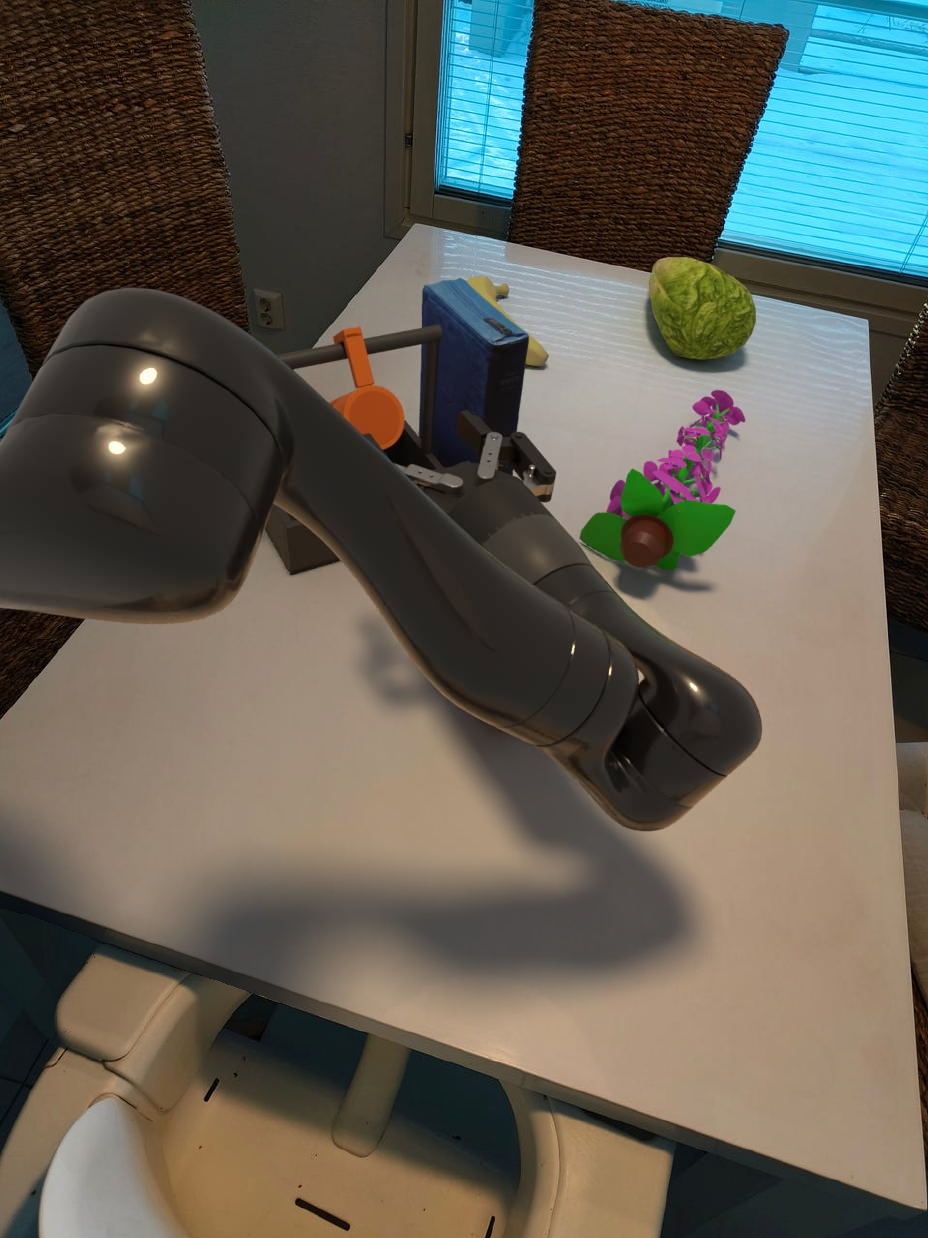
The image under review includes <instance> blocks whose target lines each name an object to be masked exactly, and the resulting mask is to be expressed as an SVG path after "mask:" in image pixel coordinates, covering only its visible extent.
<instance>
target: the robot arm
mask: <svg viewBox="0 0 928 1238" xmlns="http://www.w3.org/2000/svg"><path fill="white" fill-rule="evenodd" d="M276 355H277V354H275V353H274V352H273V351H272V350H271V349H269V347H267V346H266V345H265V344H263V343H262V342H260V341H259V340H257V339H256V338H255V337H254V336H252V335H251V334H250V333H249V332H247V331H246V330H244V329H243V328H241V327H240V326H239V325H237V324H235V323H234V322H232V321H230V320H229V319H228V318H226V317H224V316H223V315H221V314H220V313H217V312H215V311H213V310H211V309H210V308H208V307H206V306H203V304H200V303H198V302H196V301H194V300H193V299H189V298H186V297H183V296H180V295H177V294H173V293H170V292H167V291H164V290H159V289H154V288H145V287H122V288H117V289H116V288H115V289H109V290H106V291H103V292H100V293H99V294H97V295H95V296H92V297H91V298H88V299H86V300H85V301H84V302H83V303H82V304H81V305H80V306H79V307H78V308H77V309H76V310H75V311H74V312H73V313H72V314H71V315H70V316H69V318H68V319H67V321H66V323H65V324H64V325H63V327H62V329H61V330H60V332H59V334H58V336H57V337H56V339H55V340H54V343H53V344H52V346H51V348H50V350H49V352H48V353H47V355H46V357H45V358H44V361H43V363H42V364H41V367H40V368H39V370H38V372H37V373H36V376H35V377H34V379H33V381H32V383H31V384H30V386H29V388H28V390H27V392H26V394H25V396H24V398H23V399H22V401H21V403H20V405H19V407H18V409H17V410H16V412H15V414H14V415H13V418H12V420H11V422H10V424H9V425H8V427H7V429H6V430H5V434H4V436H3V437H2V439H1V441H0V608H1V609H9V610H17V611H24V612H30V613H40V614H46V615H54V616H60V617H61V616H62V617H69V618H76V619H82V620H83V619H84V620H92V621H93V620H94V621H103V622H112V623H121V624H133V625H134V624H136V625H137V624H138V625H173V624H174V625H175V624H184V623H189V622H194V621H199V620H204V619H206V618H209V617H212V616H214V615H216V614H218V613H220V612H222V611H224V610H225V609H226V608H228V607H229V605H230V604H231V603H232V602H233V601H234V600H235V599H236V597H237V596H238V595H239V593H240V591H241V590H242V588H243V586H244V584H245V582H246V580H247V579H248V576H249V573H250V571H251V568H252V566H253V563H254V562H255V561H254V560H255V558H256V556H257V553H258V550H259V548H260V546H261V542H262V538H263V535H264V533H265V527H266V524H267V521H268V518H269V515H270V512H271V509H272V506H273V504H275V505H277V506H278V507H280V508H282V509H283V510H285V511H286V512H288V513H289V514H291V515H292V516H294V517H295V518H296V519H297V520H299V521H300V522H301V523H303V524H304V525H305V526H307V527H308V528H309V529H310V530H311V531H312V532H313V533H315V534H316V535H317V536H318V537H319V538H320V539H321V540H322V541H323V542H324V543H325V544H326V545H327V546H328V547H329V548H330V549H331V550H332V551H333V552H334V553H335V554H336V556H337V557H338V558H339V559H340V562H341V563H342V564H343V565H344V566H345V568H346V569H347V570H348V571H349V572H350V574H352V576H353V577H354V578H355V579H356V581H357V582H358V585H360V586H361V588H362V589H363V590H364V592H365V594H366V595H367V596H368V597H369V599H370V600H371V602H372V603H373V604H374V606H375V608H376V609H377V611H378V612H379V614H380V615H381V617H382V618H383V620H384V621H385V623H386V625H387V626H388V627H389V629H390V631H391V632H392V633H393V635H394V637H395V638H396V639H397V641H398V643H399V644H400V645H401V647H402V648H403V649H404V651H405V653H406V654H407V656H408V657H409V659H410V660H411V661H412V662H413V664H415V666H416V668H417V669H418V670H419V671H420V672H421V673H422V674H423V676H424V677H425V678H426V679H427V680H428V681H429V683H430V684H431V685H432V686H433V687H434V688H435V689H436V690H437V691H438V692H439V693H440V694H441V695H442V696H444V697H445V698H446V699H447V700H449V701H450V702H451V703H453V704H454V705H455V706H456V707H458V708H460V709H462V710H463V711H465V712H466V713H468V714H469V715H471V716H473V717H475V718H477V719H479V720H480V721H482V722H484V723H486V724H488V725H490V726H492V727H494V728H496V729H497V730H500V731H502V732H504V733H507V734H509V735H510V736H512V737H514V738H516V739H519V740H520V741H522V742H524V743H526V744H529V745H531V746H533V747H534V748H536V749H538V750H540V751H542V753H544V754H546V755H547V756H548V757H549V758H551V760H553V761H554V762H555V763H556V764H558V765H559V766H560V767H561V768H562V769H563V770H564V771H566V772H567V773H568V774H569V775H570V776H571V777H572V778H573V779H574V780H575V781H576V782H578V784H579V785H580V786H581V787H582V788H583V790H585V791H586V792H587V794H588V795H589V796H590V797H591V799H592V800H593V801H594V802H595V803H596V804H597V805H598V806H599V807H600V808H601V810H602V811H603V812H604V813H605V814H606V815H607V816H609V817H610V818H611V819H612V820H613V821H614V822H616V823H617V824H619V825H620V826H621V827H623V828H626V829H628V830H632V831H637V832H656V831H661V830H664V829H667V828H669V827H671V826H672V825H674V824H676V823H677V822H678V821H680V820H682V818H683V817H684V816H686V815H687V814H688V813H689V812H690V811H691V810H692V809H693V808H694V807H695V806H696V805H698V803H700V801H702V800H703V799H704V798H705V797H707V795H709V793H711V792H712V791H713V790H715V788H716V787H717V786H719V785H720V783H722V782H724V780H725V779H727V778H728V776H729V775H731V774H732V773H733V772H734V771H735V770H737V769H738V768H739V767H740V766H741V765H742V764H743V763H744V762H746V761H747V760H748V759H749V758H750V757H751V756H752V755H753V754H754V752H755V751H756V750H757V748H758V747H759V745H760V743H761V740H762V734H763V723H762V717H761V713H760V709H759V708H758V705H757V703H756V700H755V699H754V697H753V696H752V694H751V693H750V691H749V690H748V689H747V688H746V687H745V685H743V684H742V682H741V681H739V680H738V679H736V677H733V676H732V675H731V674H730V673H728V672H726V671H725V670H723V669H722V668H721V667H720V666H717V665H716V664H714V663H712V662H710V661H709V660H707V659H706V658H704V657H702V656H700V655H698V654H696V653H695V652H693V651H691V650H689V649H688V648H685V647H684V646H682V645H681V644H678V643H677V642H675V641H674V640H672V639H671V638H669V637H668V636H666V635H665V634H663V633H662V632H661V631H659V630H658V629H657V628H654V627H653V626H652V625H651V624H650V623H649V622H647V621H646V620H645V619H643V618H642V617H641V615H639V614H638V613H636V612H635V610H634V609H632V607H631V606H629V604H628V603H626V602H625V600H624V599H623V597H621V596H620V595H619V594H618V592H617V591H616V590H615V589H614V588H613V586H611V585H610V584H609V582H608V581H607V580H606V579H605V578H604V576H602V574H601V573H599V571H598V570H597V569H596V568H595V566H594V565H593V564H592V562H591V561H590V559H589V558H588V556H587V554H586V552H585V551H584V550H583V548H582V547H581V546H580V545H579V543H578V542H577V540H576V539H575V538H574V537H573V536H572V535H571V534H570V533H569V532H568V530H567V529H566V528H565V527H564V526H563V525H562V524H561V523H560V522H559V520H558V519H557V518H556V517H555V516H554V515H553V514H552V512H551V511H549V509H548V508H547V507H546V506H545V505H544V503H549V502H551V501H552V497H553V493H554V487H555V482H556V477H557V470H556V469H555V468H554V467H553V465H552V464H551V463H550V462H549V461H548V460H547V459H546V458H545V456H544V455H543V454H542V453H541V452H540V450H539V449H538V448H537V446H536V445H535V444H534V443H533V441H532V440H531V439H529V437H528V436H527V434H525V433H524V432H522V431H517V432H513V433H512V434H511V437H502V435H501V434H499V433H497V432H493V431H492V430H491V429H490V428H489V427H488V426H487V425H486V424H485V423H484V422H483V420H482V419H481V418H480V417H478V416H476V415H472V414H471V413H470V412H469V411H468V410H466V411H462V412H459V413H458V421H457V432H458V435H459V436H460V437H461V439H462V440H463V441H464V442H465V443H466V444H467V445H468V447H469V448H470V449H471V450H472V451H473V452H474V454H475V455H476V456H477V457H478V458H481V461H480V464H478V463H471V462H470V461H465V462H461V463H459V464H457V465H455V466H453V467H445V468H439V469H435V470H432V471H431V470H428V469H425V468H423V467H420V466H417V465H414V464H410V465H409V466H408V467H403V466H400V465H398V464H395V463H393V462H392V461H391V460H390V459H389V458H388V456H387V455H386V454H385V452H384V451H383V450H382V448H381V447H380V446H379V444H378V443H377V442H376V440H375V439H374V438H373V436H372V435H371V434H370V433H367V434H363V435H362V434H361V433H360V432H359V431H358V430H357V429H356V428H355V427H354V426H353V425H352V424H351V423H350V422H349V421H348V420H346V419H345V418H344V417H343V416H342V415H341V414H340V413H339V412H338V411H337V410H336V409H335V408H334V407H333V406H332V405H330V404H329V401H327V400H326V399H325V398H324V397H323V396H322V395H321V394H320V392H318V391H317V390H316V389H314V387H313V386H311V385H310V384H309V383H308V381H306V380H305V379H304V378H303V377H302V376H301V375H299V373H297V371H295V369H291V368H290V367H289V366H288V365H287V364H286V363H285V362H283V361H282V360H281V359H280V358H279V357H277V356H276ZM499 461H507V462H508V463H509V465H510V466H511V467H512V468H513V472H514V473H515V474H516V475H517V476H518V477H517V476H515V475H514V474H513V475H510V474H507V473H504V472H502V471H499V470H497V469H498V465H499ZM417 483H419V484H422V485H424V487H423V491H422V490H421V489H420V488H419V487H418V486H417ZM639 672H640V673H641V675H642V677H643V678H642V679H641V680H640V676H639Z"/></svg>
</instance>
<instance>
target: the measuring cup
mask: <svg viewBox="0 0 928 1238" xmlns="http://www.w3.org/2000/svg"><path fill="white" fill-rule="evenodd" d="M332 339H333V344H338V343H343V342H344V345H345V349H346V353H347V357H348V359H347V361H348V364H349V365H348V366H349V369H350V372H351V376H352V380H353V384H354V388H355V390H353V391H350V392H348V393H345V394H344V395H342V396H339V397H337V398H335V399H333V400H331V401H328V403H329V404H330V405H332V406H333V407H334V408H335V409H336V410H337V411H338V412H339V413H340V414H341V415H342V416H343V417H344V418H345V419H346V420H348V421H349V422H350V423H351V424H352V425H353V426H354V427H355V428H356V429H357V430H358V431H359V432H360V433H361V434H362V435H363V434H367V433H370V434H371V435H372V436H373V438H374V439H375V440H376V442H377V443H378V444H379V446H380V447H381V448H382V450H383V449H387V448H389V447H390V446H392V445H393V444H394V443H395V442H396V441H397V440H398V439H399V437H400V436H401V434H402V431H403V428H404V421H405V420H406V419H405V412H404V409H403V406H402V404H401V402H400V400H399V399H398V397H397V396H396V395H395V394H394V393H393V392H392V391H391V390H389V389H387V388H386V387H384V386H381V385H377V384H376V385H375V379H374V376H373V371H372V367H371V363H370V359H369V355H367V351H366V347H365V343H364V339H365V338H364V335H363V331H362V328H361V325H359V326H354V327H348V328H344V329H343V328H342V330H340V331H339V332H337V333H336V334H334V335H333V336H332Z"/></svg>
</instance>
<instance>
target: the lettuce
mask: <svg viewBox="0 0 928 1238" xmlns="http://www.w3.org/2000/svg"><path fill="white" fill-rule="evenodd" d="M648 295H649V297H650V301H651V311H652V314H653V317H654V319H655V321H656V324H657V325H658V328H659V331H660V334H661V337H662V338H663V340H664V342H665V343H666V345H667V346H668V348H669V349H670V350H671V352H672V354H673V355H674V357H680V358H684V359H685V358H686V359H692V360H693V359H694V360H703V361H704V360H714V359H715V360H716V359H720V358H723V357H726V356H730V355H733V354H734V353H736V352H737V351H738V350H740V349H741V348H742V347H744V346H745V345H746V343H747V342H748V341H749V339H750V337H751V336H752V334H753V332H754V329H755V326H756V322H757V308H756V305H755V302H754V299H753V296H752V293H751V292H750V291H749V289H748V288H747V287H746V286H745V285H744V284H743V283H741V282H740V281H739V280H738V279H736V278H735V277H734V276H732V275H730V274H728V273H726V272H725V271H724V270H722V269H720V268H719V267H718V266H716V265H715V264H711V263H708V262H704V261H701V260H698V259H696V258H694V257H693V258H692V257H688V256H675V257H674V256H669V257H663V258H660V259H658V260H657V261H656V262H655V263H654V264H653V266H652V270H651V273H650V276H649V280H648Z"/></svg>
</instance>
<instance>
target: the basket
mask: <svg viewBox="0 0 928 1238" xmlns="http://www.w3.org/2000/svg"><path fill="white" fill-rule="evenodd" d="M442 338H443V332H442V329H441V327H440V325H434V326H428V327H423V328H422V327H419V328H418V327H417V328H412V329H407V330H403V331H397V332H392V333H386V334H381V335H376V336H375V335H374V336H371V337H365V338H363V339H364V343H365V347H366V351H367V355H368V356H370V355H373V354H374V355H375V354H380V353H385V352H389V351H390V352H391V351H395V350H400V349H404V348H409V347H415V346H421V344H426V343H427V344H426V362H425V379H424V397H423V414H422V432H421V439H420V438H419V434H418V433H417V432H416V431H415V430H414V429H413V427H412V426H411V425H410V424H409V423H408V421H407V420H406V419H405V421H404V428H403V431H402V434H401V436H400V437H399V439H398V440H397V441H396V442H395V443H394V444H393V445H392V446H390V447H389V448H387V449H383V451H384V452H385V454H386V455H387V456H388V458H389V459H390V460H391V461H392V462H393V463H395V464H398V465H400V466H403V467H408V466H409V465H410V464H414V465H417V466H420V467H423V468H425V469H428V470H431V471H432V470H435V469H439V468H444V467H443V466H442V465H441V463H440V462H439V461H438V460H437V459H436V457H435V456H434V455H433V454H432V445H433V431H434V417H435V402H436V388H437V373H438V359H439V345H440V341H441V340H442ZM275 355H276V356H277V357H279V358H280V359H281V360H282V361H283V362H285V363H286V364H287V365H288V366H289V367H290V368H291V369H293V370H298V369H302V368H308V367H313V366H314V367H315V366H319V365H324V364H329V363H333V362H338V361H339V362H340V361H343V360H348V357H347V353H346V349H345V345H344V342H343V343H338V344H335V343H333V344H328V345H323V346H317V347H311V348H307V349H301V350H296V351H292V352H291V351H290V352H285V353H280V354H275ZM417 486H418V487H419V488H420V489H421V490H422V491H423V487H424V485H422V484H419V483H417ZM264 531H266V533H267V535H268V538H269V540H270V541H271V543H272V544H273V546H274V548H275V550H276V551H277V554H278V555H279V557H280V559H281V561H282V562H283V565H285V568H286V570H287V571H288V573H289V574H290V576H293V575H295V574H296V575H297V574H299V573H302V572H306V571H309V570H313V569H316V568H320V567H324V566H327V565H329V564H334V563H336V562H341V560H340V559H339V558H338V557H337V556H336V554H335V553H334V552H333V551H332V550H331V549H330V548H329V547H328V546H327V545H326V544H325V543H324V542H323V541H322V540H321V539H320V538H319V537H318V536H317V535H316V534H315V533H313V532H312V531H311V530H310V529H309V528H308V527H307V526H305V525H304V524H303V523H301V522H300V521H299V520H297V519H296V518H295V517H294V516H292V515H291V514H289V513H288V512H286V511H285V510H283V509H282V508H280V507H278V506H277V505H275V504H273V506H272V509H271V512H270V515H269V518H268V521H267V524H266V527H265V529H264Z"/></svg>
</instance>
